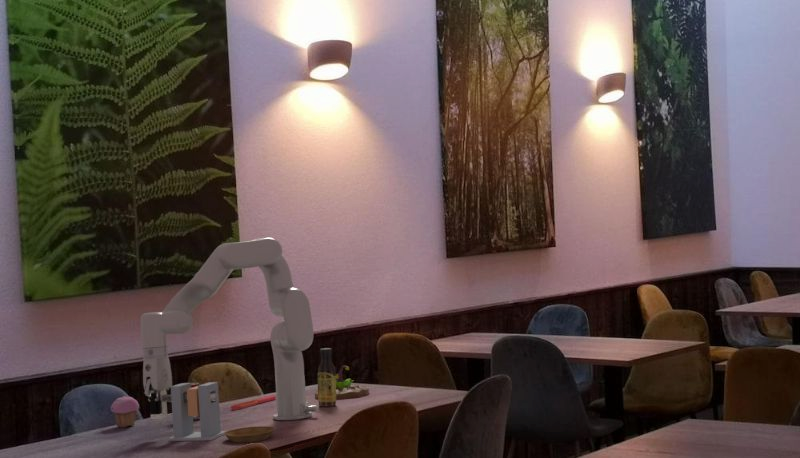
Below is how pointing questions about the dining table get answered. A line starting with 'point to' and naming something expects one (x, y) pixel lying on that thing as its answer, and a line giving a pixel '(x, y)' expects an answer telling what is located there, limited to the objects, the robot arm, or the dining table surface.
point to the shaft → (167, 398)
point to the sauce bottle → (326, 379)
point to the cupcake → (125, 411)
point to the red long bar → (253, 402)
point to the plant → (347, 388)
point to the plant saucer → (249, 434)
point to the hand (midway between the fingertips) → (158, 412)
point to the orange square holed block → (193, 401)
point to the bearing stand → (206, 408)
